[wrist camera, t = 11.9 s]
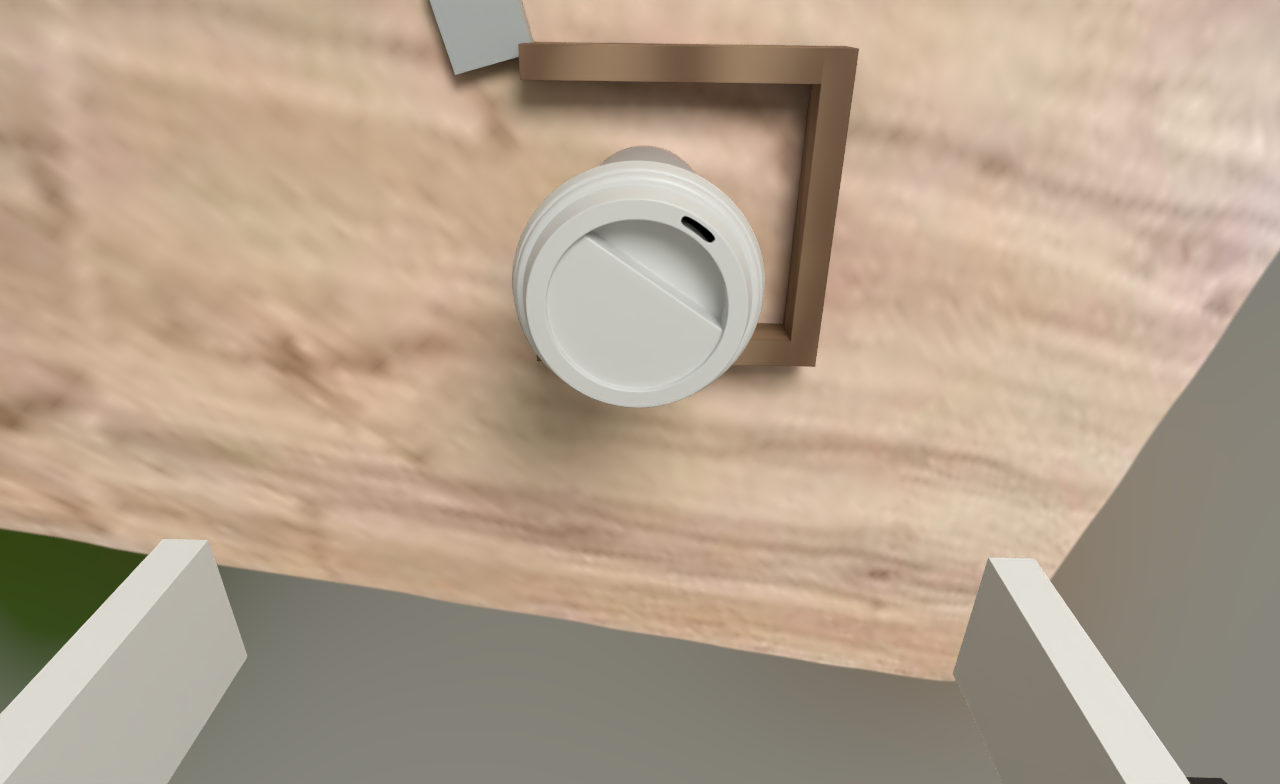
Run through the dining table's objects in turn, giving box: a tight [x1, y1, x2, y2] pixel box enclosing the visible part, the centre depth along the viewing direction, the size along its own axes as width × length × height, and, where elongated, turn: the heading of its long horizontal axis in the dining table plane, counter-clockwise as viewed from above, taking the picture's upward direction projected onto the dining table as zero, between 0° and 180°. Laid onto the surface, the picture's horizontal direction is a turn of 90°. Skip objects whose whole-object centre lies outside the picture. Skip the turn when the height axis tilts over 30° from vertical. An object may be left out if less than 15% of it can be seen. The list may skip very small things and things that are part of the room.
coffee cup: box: [512, 146, 765, 408], centre depth 32 cm, size 10×10×15 cm
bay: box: [518, 42, 859, 367], centre depth 38 cm, size 16×16×2 cm
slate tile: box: [430, 0, 534, 75], centre depth 34 cm, size 4×4×1 cm
